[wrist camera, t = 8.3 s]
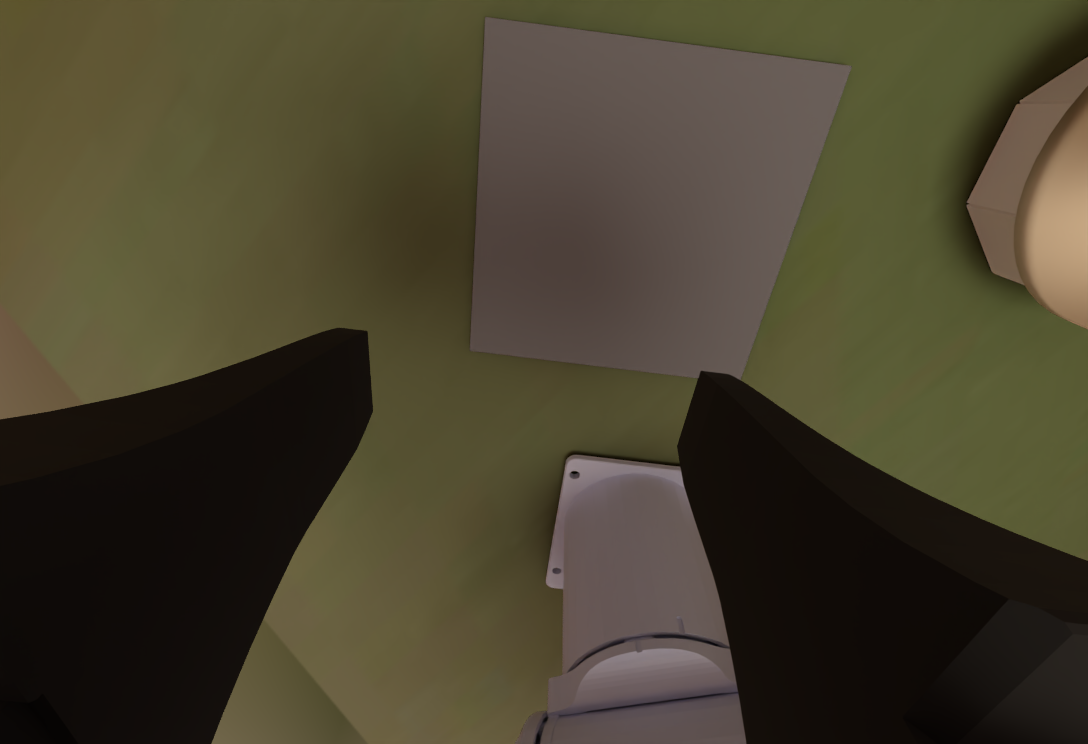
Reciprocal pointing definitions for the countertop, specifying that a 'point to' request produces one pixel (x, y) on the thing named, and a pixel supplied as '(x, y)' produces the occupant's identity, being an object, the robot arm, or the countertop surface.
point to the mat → (637, 195)
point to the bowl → (1018, 166)
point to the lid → (1057, 219)
